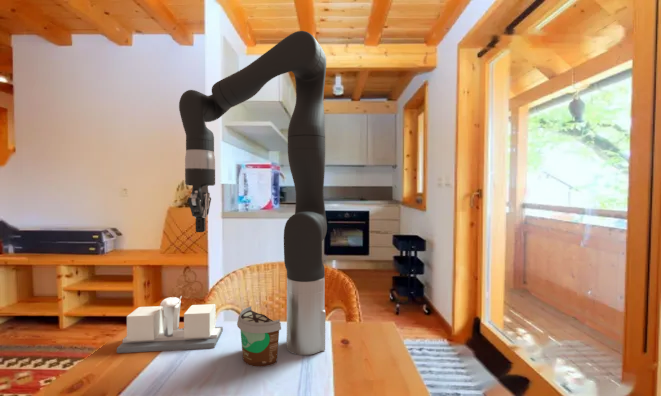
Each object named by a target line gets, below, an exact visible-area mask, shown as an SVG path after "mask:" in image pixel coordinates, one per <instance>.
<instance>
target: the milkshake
mask: <svg viewBox="0 0 661 396" xmlns="http://www.w3.org/2000/svg"><path fill="white" fill-rule="evenodd" d="M182 297H183V296H182V295H180V297H176V296H175V297H173V296H172V297H171V296H170V297H166V298H164V299H163V300H161V302H160V304H159V306H161V314H162V324H163V335H164V337H173V336H175V335H177V334H178V329H180V326H179V325H180V314H181V313H180V312H181V304H182V301H181V299H182Z"/></svg>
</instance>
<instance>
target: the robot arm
mask: <svg viewBox="0 0 661 396" xmlns="http://www.w3.org/2000/svg"><path fill="white" fill-rule="evenodd" d="M287 73H292V74H293V75H294V82H295V98H296V99H295V105H294V109H293V113H292V115H291V117H290V121H289V123H288V128H287V158H288V165H289V170H290V173H291V177H292V181H293V185H294V188H295V189H294V190H295V211H294V214H293V215H291V216H289V218H288V219H287V220H286V222H285V223H284V224H285V225H284V229H283V259H284V261H283V262H284V266H285V270H286V349H287V350H288V352H289V353H292V354H295V355H299V356H310V355H313V354H317V353H319V352H323V351H324V352H325V351H326V309H325V279H326V278H325V270H326V268H325V265H324V263H323V241H324V239H325V238H326V235H327V232H328V231H327V230H328V224H327V223H328V222H327V216H326V215H327V214H326V206H325V199H324V198H325V196H324V187H325V186H324V185H325V170H326V169H325V167H326V166H325V164H326V134H325V133H326V130H325V129H326V127H325V104H324V96H325V95H324V94H325V83H326V82H325V81H326V73H327V56H326V53H325V51H324V49H323V47H322V45H320V43H319V42H318V41H317V39H316V38H315V37H314V35H313V34H311V33H310V32H308V31H304V30H298V31H294V32H292V33H291V34H289V35H287V36H286V37H284V38H283V39H281V41H279V42H277V43H276V44H275V45H274V46H272V47H271V48H270V49H268V50H267V51H266V52H265V53H263V54H261V55H260V56H259V57H258V58H256V59H255V60H254V61H252V62H251V63H250V64H248V65H246V66H245V67H243V68H241V69H239V70H238V71H236V72H234V73H232V74H230V75H227V76H226V77H224V78H222V79H221V80H219V81H217V82H215V83H214V84H212V87H211V94H209V95H207V94H204V93H202V92H200V91H199V90H198V91H197V90H196V89H195V90H194V89H188V90H186V91H184V92H183V93H182V95H180V99H179V103H178V109H179V115H180V118H181V122H182V126H183V130H184V133H185V157H184V185H186V186H192V190H191V193H190V197H188V199H187V200H188V204H189V209H190V211H191V216H192V217H194V219H195V232H196V233H204V232H206V230H207V227H206V225H207V223H206V221H207V220H206V218H208V217H207V216H208V215H209V212H210V207H211V202H212V197H211V195H210V194H211V193H210V192H209V186H215V185H216V156H215V136H214V132H213V131H211V130H210V129H209V128H208V127H207V126H206V123H210V122H215V121H217V120H218V119H220V118H221V117H222V116H223V115H224V114H226V113H227V112H228V111H229V110H230V109H231V108H233V107H236V106H238V105H240V104H242V103H244V102H246V101H248V100H251V98H253V97H255V96H256V95H257V94H258V93H259V92H260V91H261V90H262V89H263V87H265V85H266V84H267V83H269V82H270V81H271V80H273V79H274V78H276V77H278V76H281V75H284V74H287Z"/></svg>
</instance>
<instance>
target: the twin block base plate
mask: <svg viewBox="0 0 661 396" xmlns="http://www.w3.org/2000/svg"><path fill="white" fill-rule="evenodd" d="M216 311H217V310H216V304H215V303H213V304H210V303H209V304H192V305H191V306H189V308H188V309H187V310H186V311H185V312H184V313H183V328H179V329H178V334H177V335H175V336H173V337H164V335H163V324H162V314H161V306H160V305H158V306H154V305H152V306H139V307H137V308H135V309H134V310H133V311H132V312H131V313H129V314H128V315H126V336H125V337H123V339H122V343H120V345H118V346H117V347H116V353H117V354H126V353H128V354H129V353H143V352H147V353H148V352H161V351H162V352H163V351H164V352H165V351H179V350H182V351H183V350H199V349H215V347H216V346H217V345H218V342H219V339H220V338H221V336H222V333H223V330H224V328H223V327H224V326H216V323H217V321H216V318H217V317H216V315H217V313H216Z"/></svg>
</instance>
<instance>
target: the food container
mask: <svg viewBox="0 0 661 396" xmlns="http://www.w3.org/2000/svg"><path fill="white" fill-rule="evenodd" d="M236 323H237V324H236V325H237V328H238V329H239V330H240V340H241V350H242V351H241V352H242V361H243V363H244V364H246V365H248V366H250V367H256V368H257V367H258V368H260V367H262V368H263V367H267V366H272V365H274V364H276V363H278V351H279V337H280V330H282V324H281V320H280V319H276V320H272V319H270V317H268V316H267V315H266V314H263V313H258V312H256V311H254V310H252V305H251V306H248V307H246V308H244V309H242V310H241V311H240V313H239V315H238V318H237V322H236Z"/></svg>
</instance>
